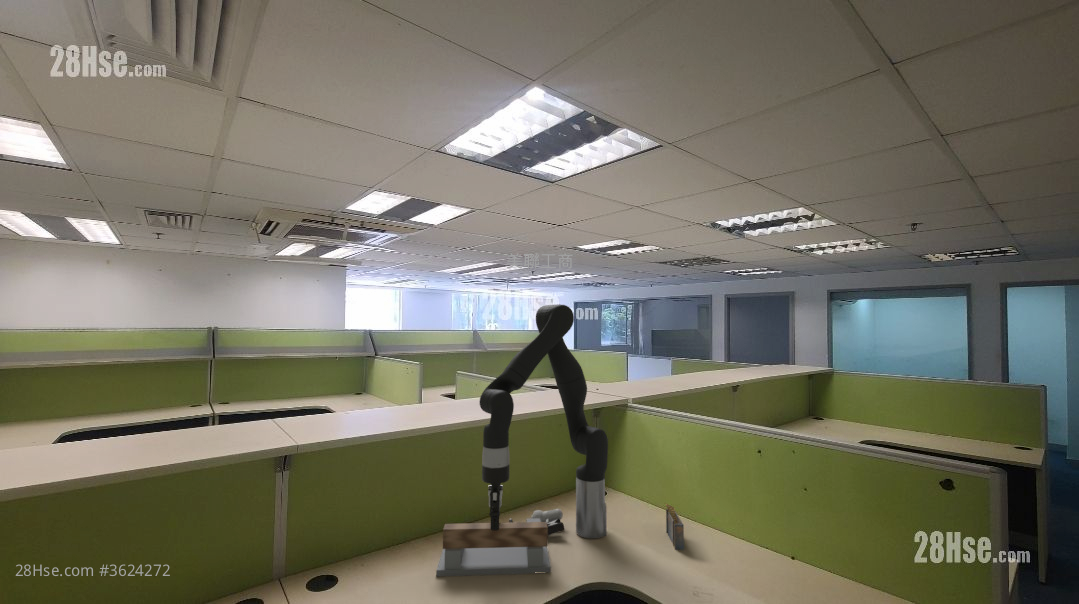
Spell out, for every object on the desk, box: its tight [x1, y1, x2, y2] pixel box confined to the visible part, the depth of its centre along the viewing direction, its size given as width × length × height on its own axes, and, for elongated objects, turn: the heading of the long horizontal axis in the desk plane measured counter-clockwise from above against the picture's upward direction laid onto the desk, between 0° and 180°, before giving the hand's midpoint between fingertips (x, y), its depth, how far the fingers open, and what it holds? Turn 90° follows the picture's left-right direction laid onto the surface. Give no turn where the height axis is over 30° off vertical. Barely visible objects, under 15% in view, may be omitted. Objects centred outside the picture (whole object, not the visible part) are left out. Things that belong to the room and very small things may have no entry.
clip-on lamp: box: [508, 508, 565, 536], centre depth 141 cm, size 12×6×18 cm
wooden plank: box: [442, 521, 549, 550], centre depth 119 cm, size 28×4×5 cm, turn 94°
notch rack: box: [435, 518, 552, 577], centre depth 122 cm, size 30×13×9 cm, turn 94°
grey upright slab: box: [664, 502, 685, 551], centre depth 135 cm, size 11×3×10 cm, turn 176°
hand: (495, 522), depth 119 cm, fingers open, 8 cm apart
